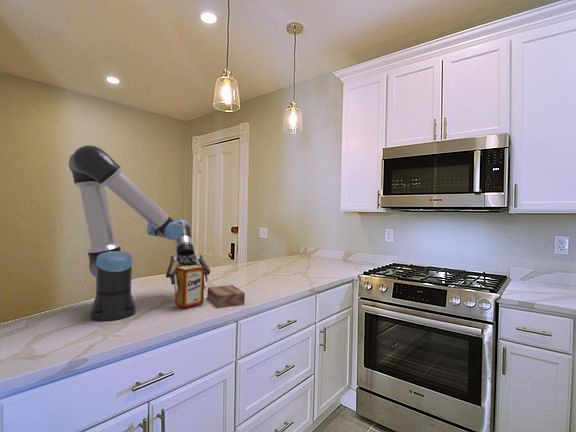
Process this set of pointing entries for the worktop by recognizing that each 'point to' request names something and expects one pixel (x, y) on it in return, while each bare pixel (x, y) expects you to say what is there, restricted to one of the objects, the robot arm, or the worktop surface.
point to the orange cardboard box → (189, 286)
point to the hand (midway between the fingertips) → (191, 289)
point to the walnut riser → (225, 296)
